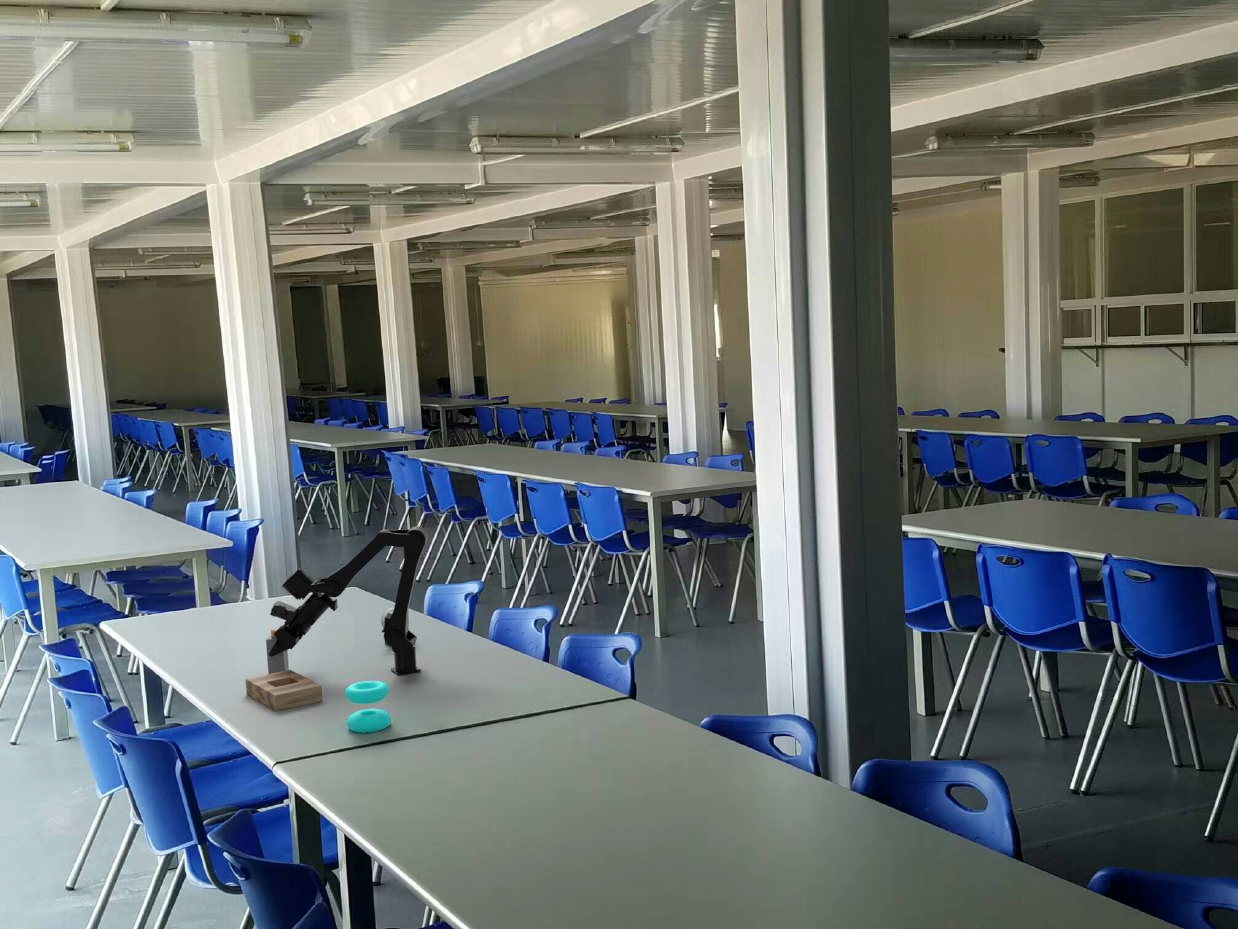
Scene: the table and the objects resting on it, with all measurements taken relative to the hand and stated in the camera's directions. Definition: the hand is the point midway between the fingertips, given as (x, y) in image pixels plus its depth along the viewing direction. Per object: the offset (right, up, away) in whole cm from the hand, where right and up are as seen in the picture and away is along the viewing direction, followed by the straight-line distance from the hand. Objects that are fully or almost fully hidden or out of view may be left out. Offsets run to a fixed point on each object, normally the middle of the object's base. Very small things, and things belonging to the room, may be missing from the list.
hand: (272, 653), depth 329 cm
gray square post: (+2, -7, +1) cm, 7 cm away
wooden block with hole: (+8, -8, -19) cm, 22 cm away
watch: (+28, -2, +32) cm, 42 cm away
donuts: (+35, -10, -46) cm, 58 cm away
